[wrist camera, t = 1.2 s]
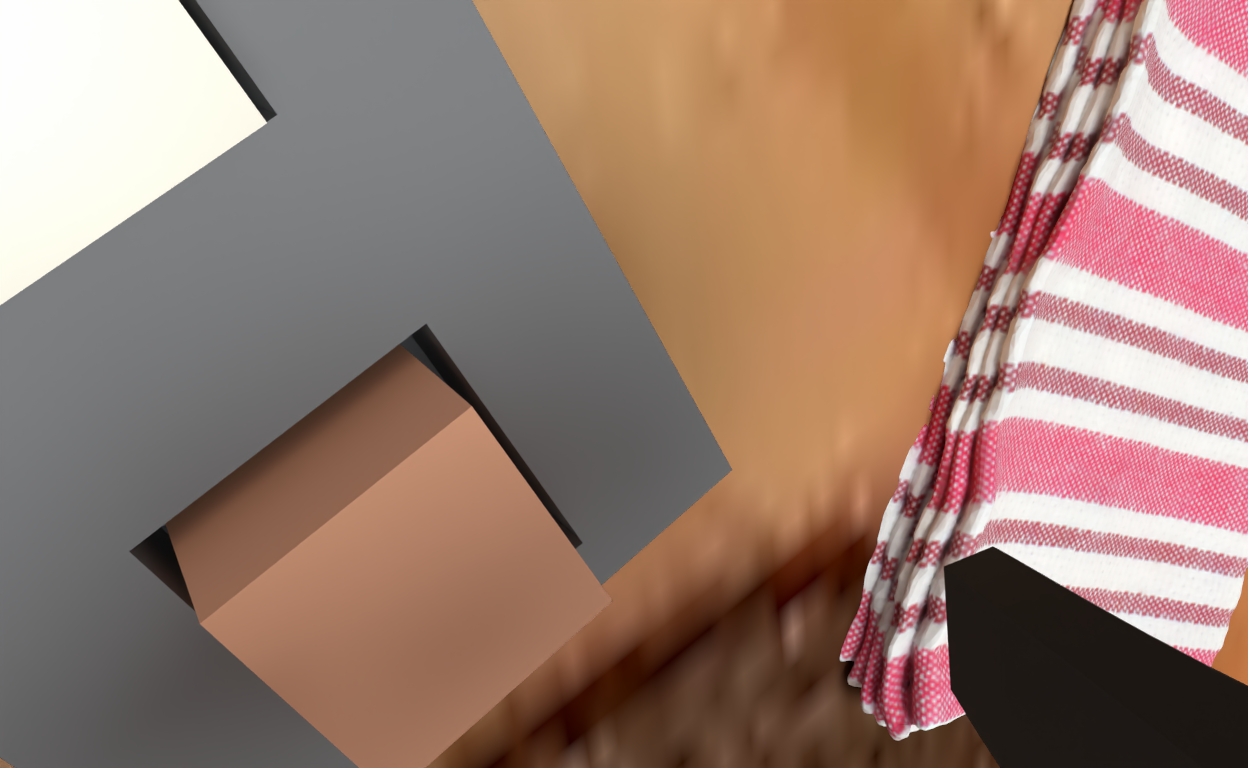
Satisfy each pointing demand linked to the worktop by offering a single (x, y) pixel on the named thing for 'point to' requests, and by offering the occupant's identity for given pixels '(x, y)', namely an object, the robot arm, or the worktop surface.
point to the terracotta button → (385, 567)
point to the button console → (306, 365)
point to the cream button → (101, 121)
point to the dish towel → (1091, 363)
